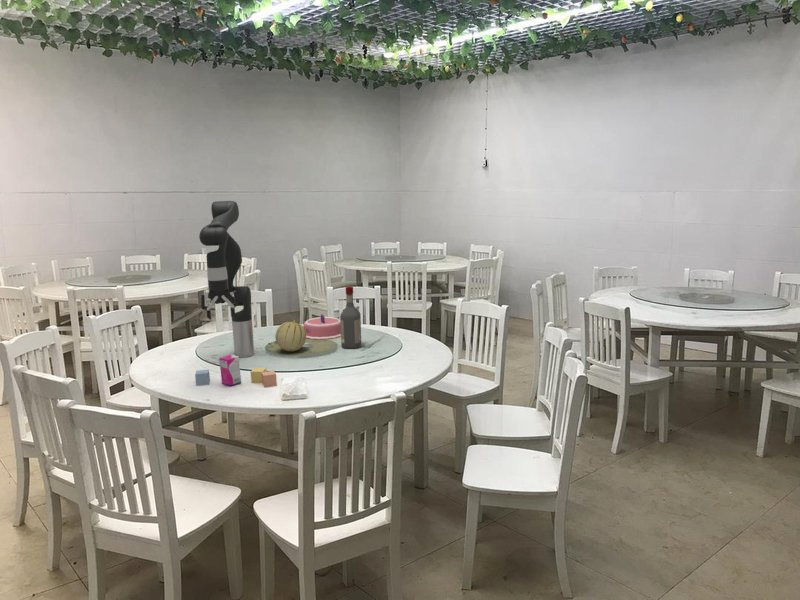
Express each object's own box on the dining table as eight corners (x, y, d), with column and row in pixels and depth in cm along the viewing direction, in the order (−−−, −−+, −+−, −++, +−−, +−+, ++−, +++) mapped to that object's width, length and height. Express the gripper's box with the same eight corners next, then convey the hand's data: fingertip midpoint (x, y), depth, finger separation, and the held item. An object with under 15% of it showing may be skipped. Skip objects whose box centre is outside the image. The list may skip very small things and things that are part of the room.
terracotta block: (262, 383, 247) (261, 372, 246) (274, 382, 249) (273, 370, 248) (264, 387, 242) (263, 375, 241) (276, 385, 244) (276, 373, 243)
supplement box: (233, 380, 252) (230, 354, 249) (241, 383, 248) (239, 356, 246) (221, 384, 247) (218, 357, 245) (229, 387, 244) (227, 359, 241)
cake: (297, 331, 333) (296, 312, 331) (341, 327, 341) (340, 308, 339) (304, 342, 310) (303, 322, 308) (351, 337, 317) (350, 317, 315)
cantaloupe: (271, 354, 288) (269, 324, 285) (284, 346, 302) (282, 317, 299) (299, 355, 285) (298, 325, 282) (311, 347, 299) (310, 318, 296)
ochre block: (255, 379, 253) (254, 367, 252) (266, 379, 252) (266, 367, 251) (251, 383, 248) (250, 371, 247) (263, 383, 247) (262, 371, 246)
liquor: (362, 344, 303) (360, 285, 297) (359, 349, 294) (356, 288, 288) (344, 344, 304) (341, 285, 298) (340, 349, 295) (338, 288, 289)
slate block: (197, 382, 251) (196, 370, 250) (209, 380, 252) (208, 369, 251) (196, 385, 246) (195, 374, 245) (208, 384, 247) (207, 373, 246)
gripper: (235, 275, 244) (238, 314, 247) (198, 278, 239) (201, 317, 242) (237, 278, 237) (240, 318, 240) (199, 281, 232) (203, 322, 235)
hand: (221, 318), depth 241 cm, fingers open, 8 cm apart
